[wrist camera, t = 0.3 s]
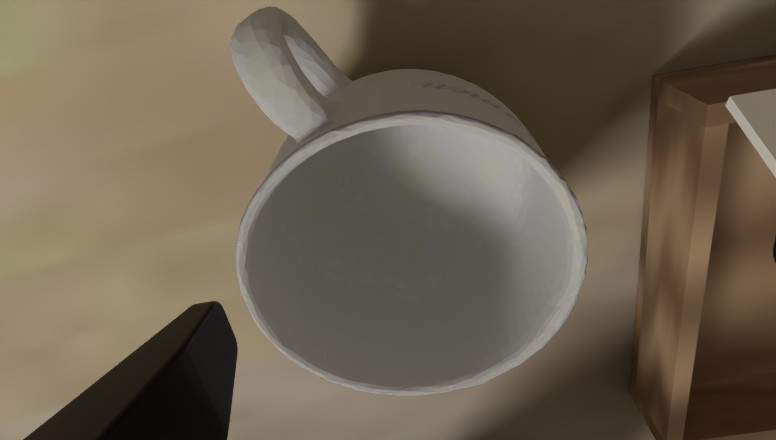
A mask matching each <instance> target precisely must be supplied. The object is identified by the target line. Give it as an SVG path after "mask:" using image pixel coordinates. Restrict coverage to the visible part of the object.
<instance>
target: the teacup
mask: <svg viewBox="0 0 776 440" xmlns="http://www.w3.org/2000/svg"><path fill="white" fill-rule="evenodd" d="M230 46H231V51H232V57H233V63H234V65H235V68H236V70H237V72H238V74H239V76H240V78H241V80H242V82H243V84H244V86H245V87H246V89H247V90H248V92H249V93H250V95H251V96H252V97H253V99H254V100H255V101H256V103H257V104H258V105H259V107H260V108H261V109H262V111H263V112H264V113H265V114H266V115H267V116H268V117H269V118H270V119H271V120H272V121H273V122H274V123H275V124H276V125H277V126H279V127H280V128H281V129H282V130H284V131H285V132H286V133H287V134H289V136H288V137H287V139H286V141H285V142H284V144H283V146H282V147H281V149H280V151H279V153H278V154H277V156H276V158H275V160H274V162H273V164H272V166H271V168H270V170H269V172H268V174H267V176H266V178H265V180H264V181H263V183H262V184H261V185H260V186H259V188H258V189H257V191H256V192H255V194H254V195H253V197H252V199H251V200H250V202H249V203H248V206H247V208H246V210H245V213H244V215H243V217H242V219H241V223H240V228H239V233H238V238H237V243H236V270H237V278H238V282H239V286H240V290H241V293H242V295H243V297H244V300H245V302H246V304H247V307H248V309H249V311H250V313H251V315H252V318H253V320H254V321H255V323H256V324H257V325H258V327H259V328H260V329H261V331H262V332H263V334H264V335H265V336H266V337H267V338H268V339H269V340H270V341H271V342H272V343H273V344H274V345H275V346H276V347H277V348H278V349H279V350H280V351H281V352H282V353H283V354H284V355H285V356H287V357H288V358H290V359H291V360H292V361H294V362H295V363H297V364H298V365H300V366H301V367H303V368H304V369H306V370H308V371H310V372H312V373H314V374H316V375H318V376H320V377H322V378H324V379H326V380H328V381H331V382H333V383H336V384H339V385H342V386H345V387H348V388H351V389H355V390H359V391H364V392H369V393H376V394H382V395H402V396H416V395H426V394H434V393H444V392H450V391H453V390H457V389H461V388H467V387H472V386H476V385H479V384H483V383H486V382H487V381H488V380H490V379H492V378H494V377H496V376H499V375H501V374H503V373H505V372H507V371H508V370H510V369H512V368H514V367H516V366H518V365H520V364H522V363H523V362H524V361H525V360H527V359H528V358H529V357H530V356H531V355H533V354H534V353H535V352H537V351H538V350H540V349H541V348H543V347H544V346H545V345H546V344H547V342H548V341H549V340H550V339H551V338H552V337H553V336H554V335H555V333H556V332H557V331H558V330H559V329H560V328H561V326H562V325H563V324H564V322H565V320H566V319H567V318H568V316H569V315H570V312H571V310H572V308H573V307H574V305H575V303H576V301H577V299H578V296H579V293H580V291H581V288H582V285H583V282H584V278H585V272H586V266H587V260H588V256H587V248H588V242H587V234H586V226H585V224H584V222H583V216H582V212H581V210H580V207H579V205H578V203H577V200H576V196H575V195H574V193H573V192H572V190H571V189H570V187H569V186H568V184H567V183H566V181H565V180H564V178H563V177H562V176H561V174H560V173H559V172H558V170H557V169H556V168H555V167H554V165H553V164H552V163H550V162H549V161H548V159H547V158H546V156H545V154H544V153H543V151H542V150H541V148H540V147H539V145H538V144H537V142H536V141H535V139H534V138H533V136H532V135H531V134H530V132H529V131H528V130H527V129H526V127H525V126H524V125H523V123H522V122H521V121H520V120H519V119H518V118H517V117H516V115H515V114H514V113H513V112H512V111H511V110H510V109H508V108H507V107H506V106H505V105H504V104H503V103H502V102H501V101H500V100H498V99H497V98H496V97H494V96H493V95H492V94H490V93H488V92H487V91H485V90H484V89H482V88H481V87H479V86H477V85H475V84H473V83H470V82H468V81H466V80H463V79H461V78H459V77H456V76H453V75H449V74H445V73H441V72H437V71H431V70H423V69H397V70H389V71H384V72H379V73H374V74H371V75H368V76H364V77H361V78H359V79H357V80H354V81H352V80H350V79H349V78H348V77H347V76H346V75H345V74H344V73H343V72H341V71H340V70H339V69H338V68H337V67H336V66H335V65H334V64H333V62H332V61H331V60H330V59H329V58H328V56H327V55H326V54H325V53H324V52H323V50H322V49H321V48H320V47H319V46H318V44H317V43H316V42H315V41H314V40H313V39H312V37H311V36H310V35H309V34H308V33H307V32H306V31H305V30H304V29H303V28H302V26H301V25H300V24H299V23H298V22H297V21H296V20H295V19H294V18H293V17H292V16H290V15H289V14H287V13H286V12H284V11H283V10H281V9H279V8H277V7H270V6H269V7H266V8H262V9H259V10H257V11H255V12H254V13H252V14H251V15H250V16H248V17H247V18H246V19H245V20H243V21H242V22H241V23H240V24H238V26H237V27H236V28H235V31H234V33H233V35H232V38H231V44H230Z"/></svg>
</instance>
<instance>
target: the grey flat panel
mask: <svg viewBox="0 0 776 440" xmlns="http://www.w3.org/2000/svg"><path fill="white" fill-rule="evenodd" d="M725 106H726V107H727V109H728V110H729V112H730V113H731V114H732V116H733V117H734V119H735V120H736V122H737V123H738V124H739V126H740V127H741V129H742V130H743V132H744V133H745V135H746V136H747V137H748V139H749V140H750V142H751V143H752V145H753V146H754V147H755V149H756V150H757V152H758V153H759V155H760V156H761V157H762V159H763V160H764V162H765V163H766V165H767V166H768V168H769V169H770V170H771V172H772V173H773V175H774V176H775V178H776V89H770V90H764V91H758V92H752V93H747V94H741V95H735V96H730V97H729V99H728V101H727V103H726V105H725Z"/></svg>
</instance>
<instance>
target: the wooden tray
mask: <svg viewBox="0 0 776 440" xmlns="http://www.w3.org/2000/svg"><path fill="white" fill-rule="evenodd" d="M770 89H776V55H771V56H765V57H759V58H753V59H748V60H742V61H736V62H730V63H724V64H719V65H713V66H707V67H701V68H695V69H690V70H684V71H678V72H672V73H666V74H661V75H655V76H653V80H652V94H651V108H650V122H649V136H648V150H647V164H646V178H645V192H644V206H643V220H642V234H641V248H640V262H639V276H638V290H637V305H636V319H635V333H634V347H633V361H632V375H631V389H630V394H631V396H632V397H633V399H634V401H635V403H636V405H637V407H638V408H639V410H640V412H641V414H642V416H643V417H644V419H645V421H646V423H647V425H648V426H649V428H650V430H651V432H652V434H653V435H654V437H655V439H656V440H776V263H775V261H774V257H773V246H774V241H775V235H776V178H775V176H774V175H773V173H772V172H771V170H770V169H769V168H768V166H767V165H766V163H765V162H764V160H763V159H762V157H761V156H760V155H759V153H758V152H757V150H756V149H755V147H754V146H753V145H752V143H751V142H750V140H749V139H748V137H747V136H746V135H745V133H744V132H743V130H742V129H741V127H740V126H739V124H738V123H737V122H736V120H735V119H734V117H733V116H732V114H731V113H730V112H729V110H728V109H727V107H726V106H725V105H726V103H727V101H728V99H729V97H730V96H735V95H741V94H747V93H752V92H758V91H764V90H770Z"/></svg>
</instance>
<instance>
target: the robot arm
mask: <svg viewBox="0 0 776 440" xmlns="http://www.w3.org/2000/svg"><path fill="white" fill-rule="evenodd" d="M773 257H774V261H775V263H776V235H775V241H774V246H773ZM236 361H237V342H236V338H235V336H234V333H233V331H232V328H231V326H230V323H229V321H228V319H227V316H226V314H225V311H224V309H223V307H222V305H221V304H220V303H219V302H217V301H211V302H205V303H199V304H194V305H192V306H191V307H189V308H188V309H187V310H186V311H184V312H183V313H182V314H181V315H179V316H178V317H177V318H176V319H174V320H173V321H172V322H171V323H169V324H168V325H167V326H166V327H164V328H163V329H162V330H161V331H159V332H158V333H157V334H155V335H154V336H153V337H152V338H150V339H149V340H148V341H147V342H145V343H144V344H143V345H142V346H140V347H139V348H138V349H137V350H135V351H134V352H133V353H132V354H130V355H129V356H128V357H127V358H125V359H124V360H123V361H122V362H120V363H119V364H118V365H116V366H115V367H114V368H113V369H111V370H110V371H109V372H108V373H106V374H105V375H104V376H103V377H101V378H100V379H99V380H98V381H96V382H95V383H94V384H93V385H91V386H90V387H89V388H88V389H86V390H85V391H84V392H83V393H81V394H80V395H79V396H78V397H76V398H75V399H74V400H72V401H71V402H70V403H69V404H67V405H66V406H65V407H64V408H62V409H61V410H60V411H59V412H57V413H56V414H55V415H54V416H52V417H51V418H50V419H49V420H47V421H46V422H45V423H44V424H42V425H41V426H40V427H39V428H37V429H36V430H35V431H34V432H32V433H31V434H30V435H28V436H27V437H26V438H25V439H23V440H227V436H228V430H229V423H230V414H231V405H232V396H233V387H234V378H235V370H236Z"/></svg>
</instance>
